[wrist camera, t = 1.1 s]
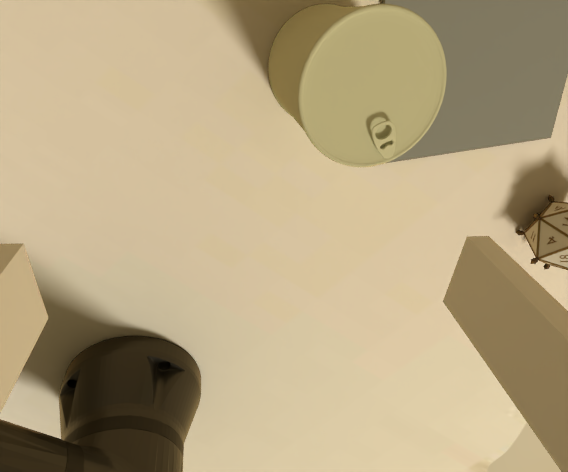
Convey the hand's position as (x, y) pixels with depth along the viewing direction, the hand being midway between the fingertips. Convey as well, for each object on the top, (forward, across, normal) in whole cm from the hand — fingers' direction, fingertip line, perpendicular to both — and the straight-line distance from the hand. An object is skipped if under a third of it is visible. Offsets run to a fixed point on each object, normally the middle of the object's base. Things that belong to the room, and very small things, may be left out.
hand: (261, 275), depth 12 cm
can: (+25, -7, -2) cm, 26 cm away
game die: (+26, -35, +13) cm, 45 cm away
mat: (+26, -21, -4) cm, 33 cm away
